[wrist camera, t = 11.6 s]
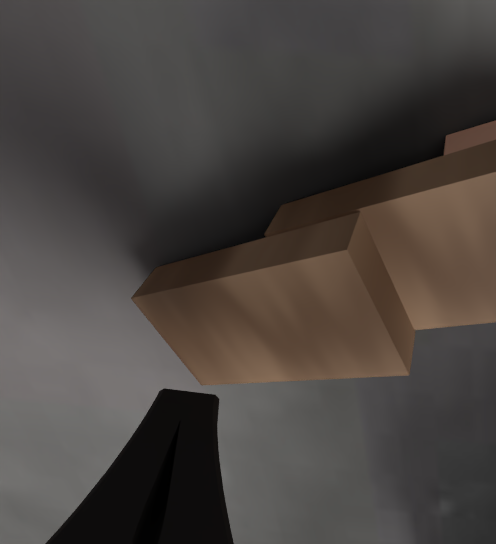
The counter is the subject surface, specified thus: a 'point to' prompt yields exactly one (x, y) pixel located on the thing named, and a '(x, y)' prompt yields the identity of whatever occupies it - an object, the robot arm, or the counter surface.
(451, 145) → the domino
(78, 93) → the counter surface
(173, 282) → the domino
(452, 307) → the domino
